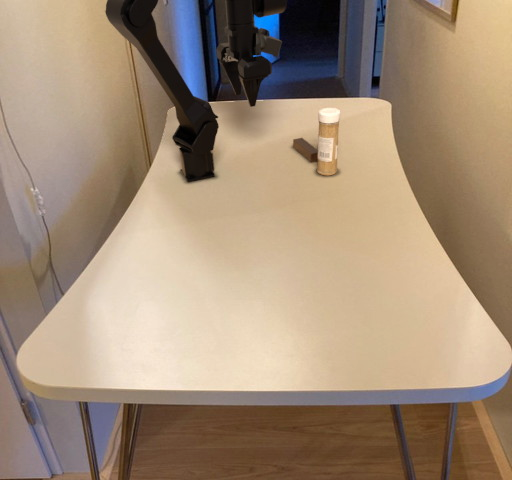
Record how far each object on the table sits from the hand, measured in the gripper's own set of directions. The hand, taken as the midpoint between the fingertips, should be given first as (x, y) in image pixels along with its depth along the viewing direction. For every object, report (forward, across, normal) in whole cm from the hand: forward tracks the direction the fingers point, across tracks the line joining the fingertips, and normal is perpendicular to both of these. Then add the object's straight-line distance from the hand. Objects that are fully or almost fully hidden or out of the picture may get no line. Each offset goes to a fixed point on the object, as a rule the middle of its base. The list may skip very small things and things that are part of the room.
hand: (245, 100), depth 123 cm
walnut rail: (+13, -5, -13) cm, 19 cm away
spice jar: (+13, -16, -13) cm, 25 cm away
